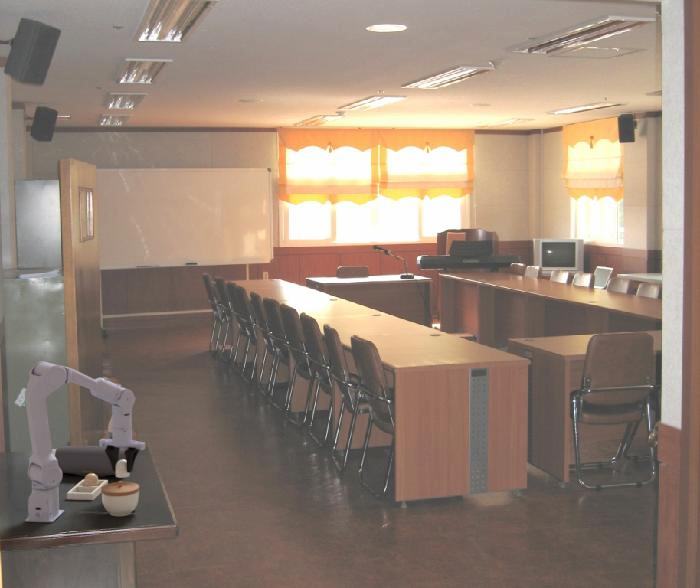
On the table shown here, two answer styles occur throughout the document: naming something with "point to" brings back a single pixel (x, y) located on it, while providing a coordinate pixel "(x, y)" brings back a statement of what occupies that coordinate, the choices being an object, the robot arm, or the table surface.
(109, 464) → the bluetooth speaker
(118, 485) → the lidded jar
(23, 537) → the table surface
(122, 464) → the white egg
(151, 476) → the table surface
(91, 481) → the brown egg
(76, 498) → the white divided tray
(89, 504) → the table surface
